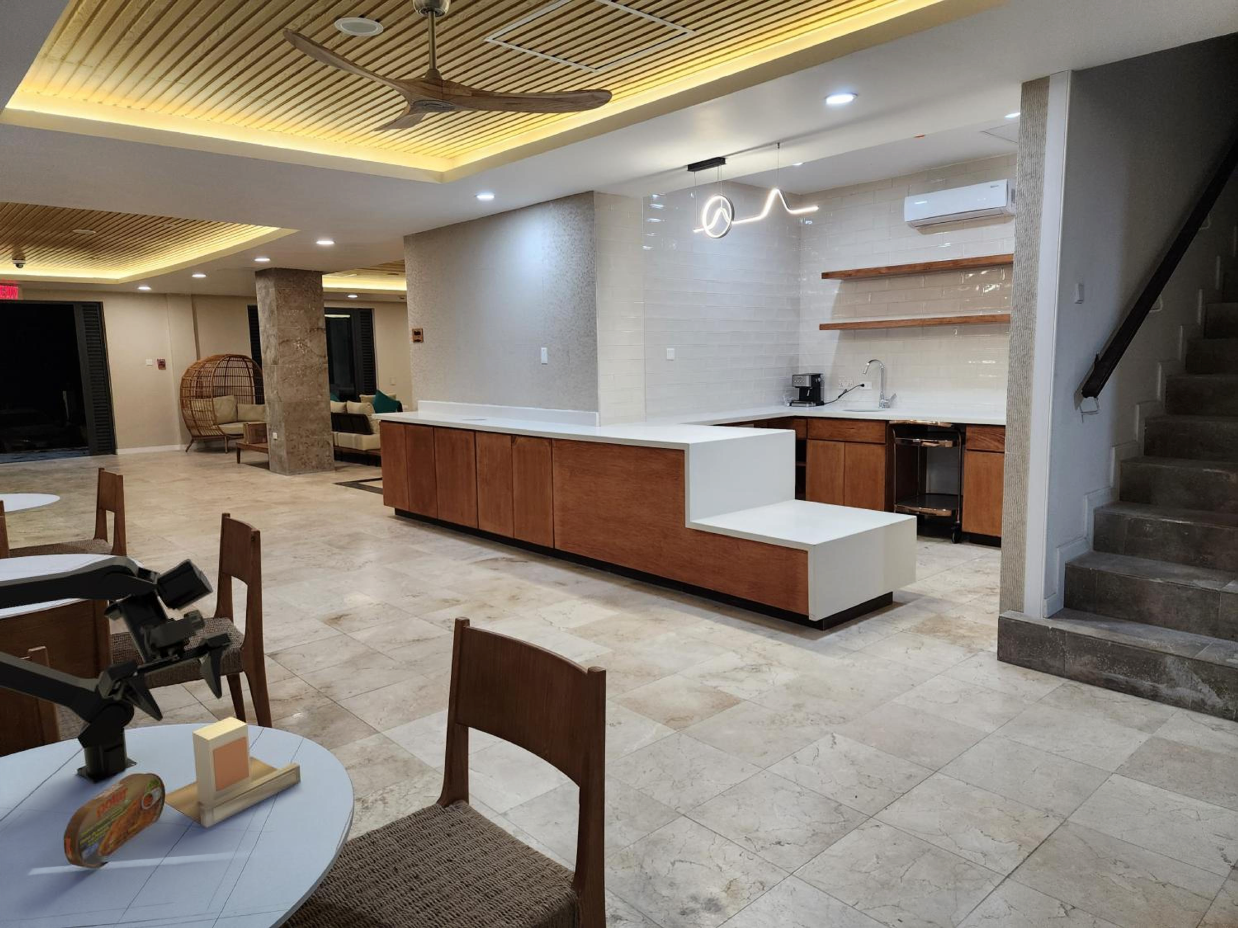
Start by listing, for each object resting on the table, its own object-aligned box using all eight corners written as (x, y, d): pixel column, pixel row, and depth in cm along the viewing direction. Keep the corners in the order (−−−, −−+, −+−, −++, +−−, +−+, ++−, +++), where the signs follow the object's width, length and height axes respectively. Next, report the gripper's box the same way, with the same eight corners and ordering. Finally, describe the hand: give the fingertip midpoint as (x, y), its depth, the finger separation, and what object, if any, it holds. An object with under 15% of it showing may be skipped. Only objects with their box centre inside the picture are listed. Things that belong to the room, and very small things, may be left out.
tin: (82, 882, 103) (75, 821, 102) (61, 879, 103) (55, 818, 102) (169, 815, 117) (164, 762, 116) (151, 813, 118) (146, 760, 117)
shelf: (158, 801, 121) (157, 781, 121) (251, 759, 133) (250, 741, 133) (208, 832, 113) (206, 811, 113) (302, 784, 126) (300, 765, 125)
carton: (198, 800, 120) (192, 731, 118) (236, 782, 125) (231, 716, 123) (215, 810, 117) (209, 740, 116) (253, 792, 122) (248, 724, 121)
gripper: (99, 614, 117) (143, 704, 112) (222, 583, 132) (266, 661, 128) (80, 654, 123) (121, 741, 118) (200, 620, 138) (241, 696, 133)
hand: (191, 708), depth 124 cm, fingers open, 9 cm apart
